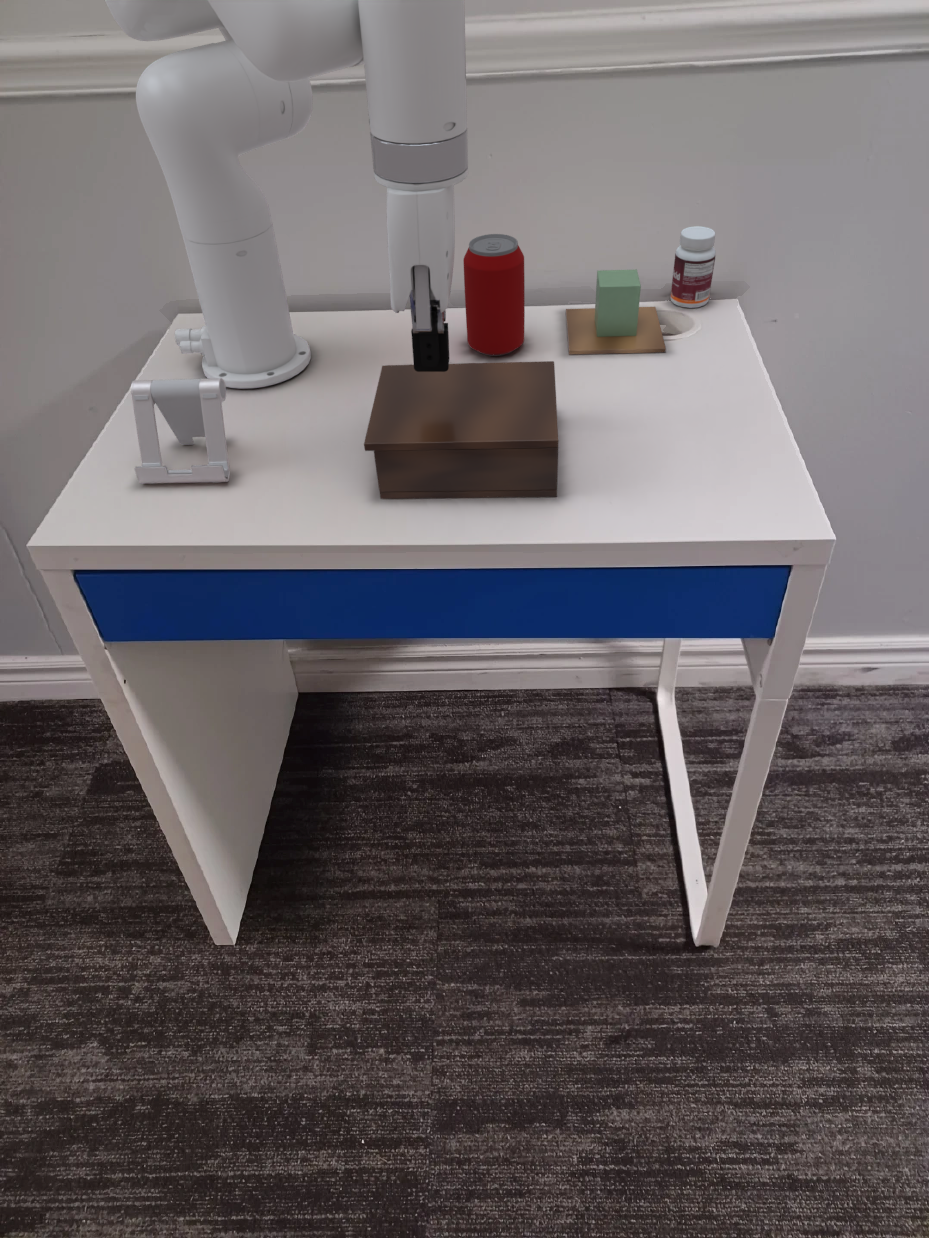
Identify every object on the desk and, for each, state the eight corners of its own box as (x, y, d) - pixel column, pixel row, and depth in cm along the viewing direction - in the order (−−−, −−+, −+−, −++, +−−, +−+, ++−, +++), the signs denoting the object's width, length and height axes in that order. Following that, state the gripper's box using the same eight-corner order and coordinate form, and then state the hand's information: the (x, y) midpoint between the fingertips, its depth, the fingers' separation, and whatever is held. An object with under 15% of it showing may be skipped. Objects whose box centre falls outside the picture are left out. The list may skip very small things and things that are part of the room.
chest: (380, 499, 84) (373, 451, 80) (395, 417, 94) (390, 372, 91) (556, 497, 83) (558, 448, 79) (552, 415, 93) (554, 368, 89)
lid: (364, 451, 80) (363, 443, 80) (382, 372, 91) (382, 365, 90) (558, 447, 79) (558, 440, 78) (554, 368, 89) (554, 360, 89)
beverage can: (526, 333, 107) (525, 231, 99) (523, 360, 102) (522, 255, 94) (470, 333, 108) (465, 231, 99) (464, 359, 103) (459, 255, 95)
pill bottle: (669, 292, 113) (677, 224, 107) (707, 292, 113) (717, 224, 107) (670, 308, 110) (678, 239, 104) (709, 309, 109) (720, 240, 103)
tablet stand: (140, 488, 87) (113, 412, 81) (163, 444, 93) (139, 370, 87) (226, 486, 86) (205, 410, 81) (244, 442, 92) (225, 368, 86)
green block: (596, 337, 104) (599, 287, 100) (594, 319, 108) (597, 270, 103) (636, 336, 104) (640, 286, 100) (632, 318, 107) (637, 269, 103)
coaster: (569, 354, 102) (569, 350, 102) (565, 312, 110) (565, 308, 110) (665, 352, 102) (665, 348, 101) (655, 310, 110) (655, 306, 109)
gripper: (383, 126, 75) (399, 329, 88) (360, 190, 65) (383, 410, 77) (471, 125, 75) (475, 329, 88) (463, 189, 64) (468, 410, 77)
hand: (431, 367), depth 83 cm, fingers closed
